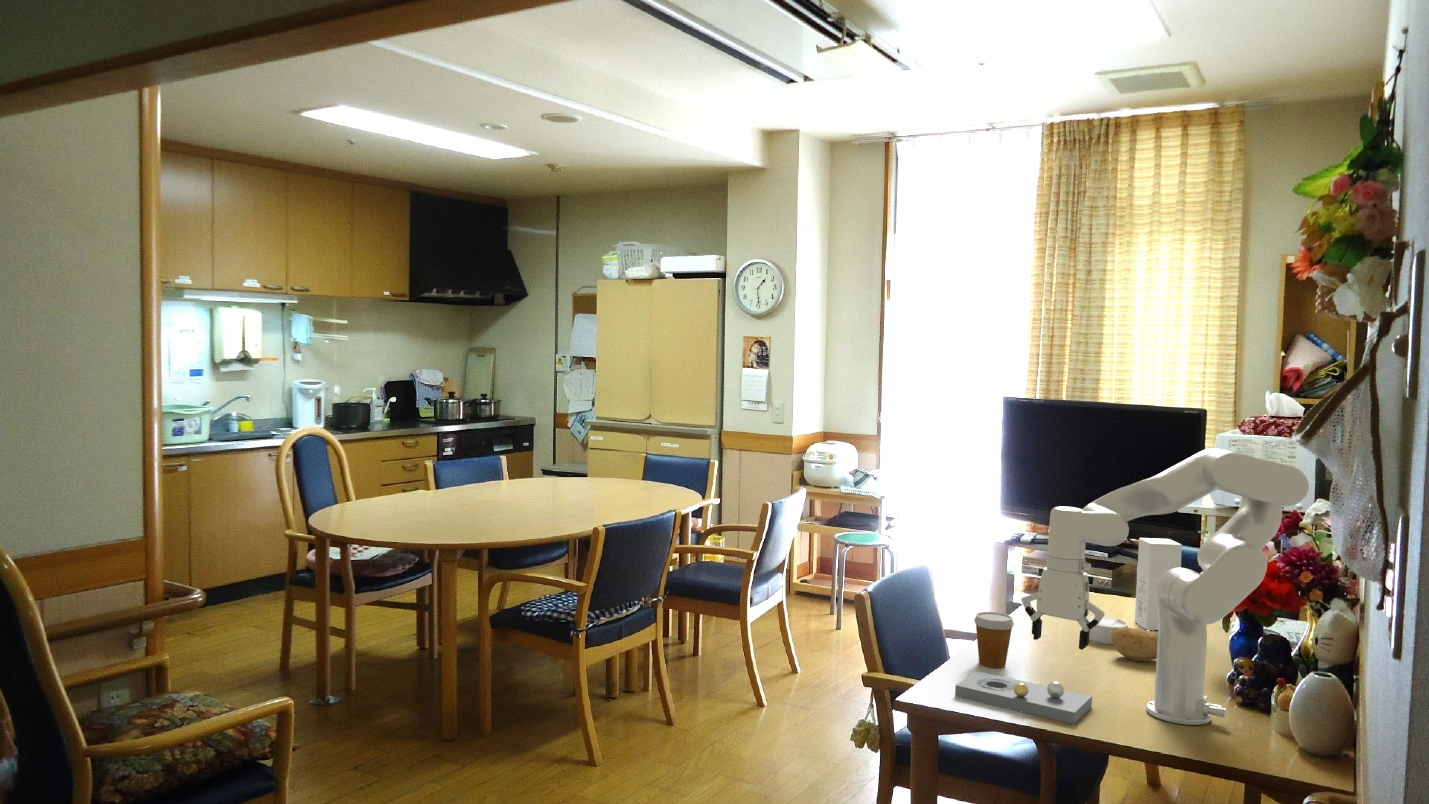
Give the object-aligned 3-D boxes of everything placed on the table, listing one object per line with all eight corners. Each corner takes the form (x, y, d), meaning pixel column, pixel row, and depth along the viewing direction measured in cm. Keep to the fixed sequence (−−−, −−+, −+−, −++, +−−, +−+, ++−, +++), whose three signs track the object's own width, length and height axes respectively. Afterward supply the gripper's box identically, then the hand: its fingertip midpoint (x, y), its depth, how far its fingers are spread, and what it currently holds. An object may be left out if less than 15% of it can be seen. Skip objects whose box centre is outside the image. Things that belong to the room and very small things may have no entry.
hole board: (1091, 707, 217) (1092, 696, 217) (1074, 724, 206) (1074, 712, 206) (976, 681, 232) (977, 671, 232) (955, 696, 221) (955, 685, 221)
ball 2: (1065, 697, 215) (1066, 681, 215) (1060, 701, 212) (1061, 685, 212) (1049, 693, 217) (1050, 678, 217) (1044, 698, 214) (1045, 682, 214)
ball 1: (1029, 696, 215) (1030, 683, 215) (1025, 700, 213) (1025, 686, 212) (1016, 693, 217) (1016, 680, 217) (1011, 697, 214) (1012, 683, 214)
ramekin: (1133, 647, 265) (1134, 627, 264) (1091, 645, 265) (1092, 626, 265) (1117, 635, 276) (1118, 616, 276) (1076, 634, 276) (1077, 615, 276)
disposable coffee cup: (974, 656, 252) (976, 609, 251) (1013, 661, 248) (1015, 614, 248) (970, 667, 243) (972, 618, 242) (1010, 672, 239) (1012, 623, 239)
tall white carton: (1177, 632, 280) (1182, 544, 279) (1146, 630, 281) (1150, 543, 280) (1165, 623, 289) (1169, 538, 288) (1134, 622, 290) (1138, 537, 288)
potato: (1171, 669, 246) (1173, 637, 245) (1110, 661, 251) (1111, 630, 250) (1169, 658, 255) (1170, 628, 254) (1110, 651, 260) (1111, 621, 259)
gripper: (1111, 569, 211) (1105, 648, 212) (1030, 555, 221) (1025, 631, 222) (1102, 574, 205) (1096, 656, 206) (1019, 560, 215) (1013, 638, 216)
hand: (1059, 643), depth 214 cm, fingers open, 9 cm apart
